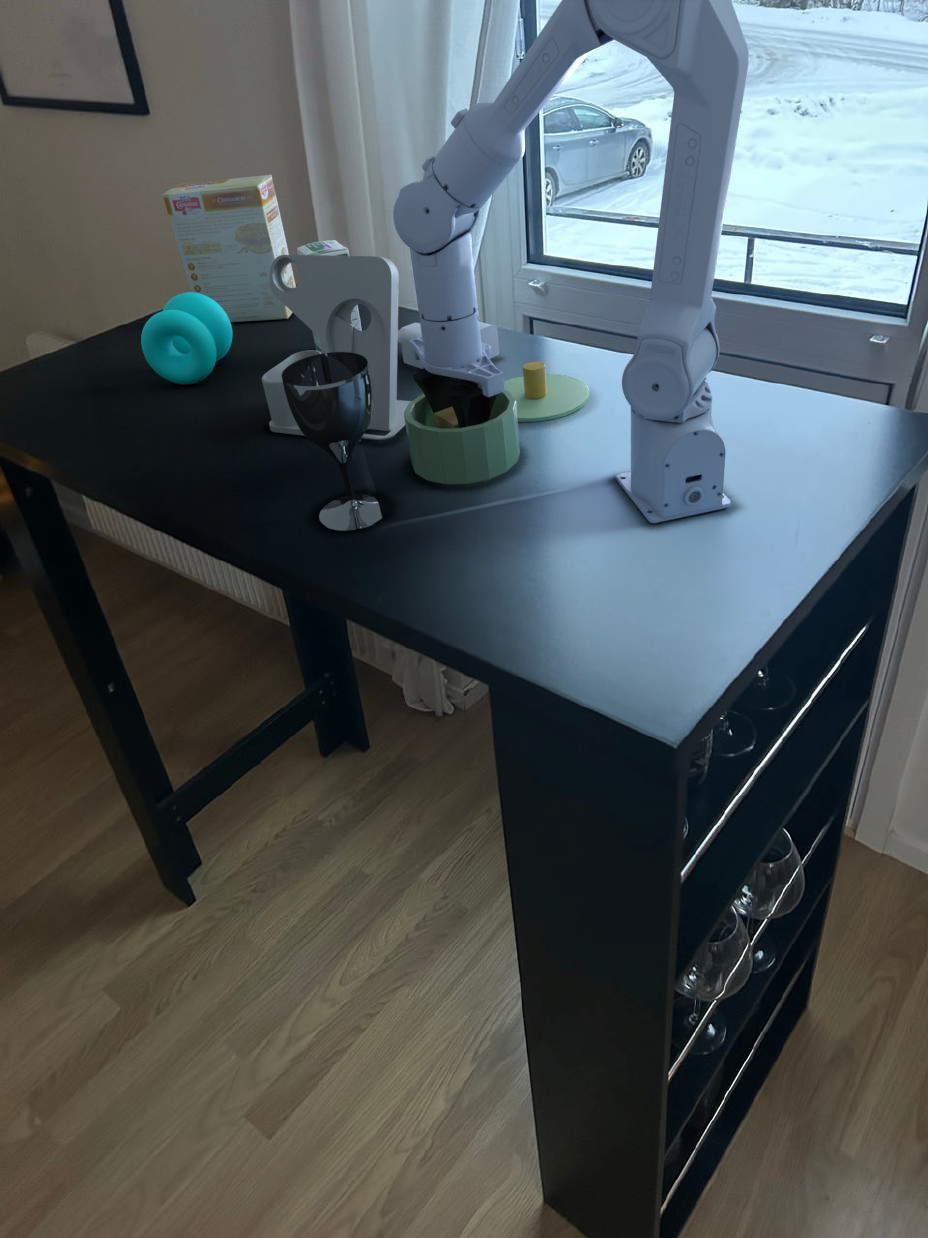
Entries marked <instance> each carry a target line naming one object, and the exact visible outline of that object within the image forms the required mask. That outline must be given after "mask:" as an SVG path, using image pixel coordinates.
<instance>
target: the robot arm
mask: <svg viewBox="0 0 928 1238" xmlns="http://www.w3.org/2000/svg"><path fill="white" fill-rule="evenodd" d="M615 41H616V42H618V43H619V44H621V45H623V46H625V47H626V48H629V49H631V50H633V51H634V52H636V53H638V54H639V55H641V56H644V57H646V59H647V60H648V61H649V62H650V63H651V65H653V66H654V68H655V69H656V70H657V71H658V73H659V74H661V76H662V77H663V78H664V79H665V80H666V81H667V83H668V84H669V85H670V87H671V88H672V89H673V99H672V109H671V118H670V126H669V134H668V142H667V151H666V158H665V159H666V161H665V169H664V176H663V185H662V193H661V201H660V209H659V210H660V211H659V219H658V229H657V236H656V243H655V244H656V245H655V251H654V252H655V253H654V259H653V260H654V262H653V268H652V269H653V270H652V277H651V287H650V296H649V301H648V305H647V308H646V312H645V313H644V316H643V319H642V322H641V324H640V328H639V330H638V334H637V340H636V347H635V351H634V353H633V355H632V357H631V358H630V360H629V361H628V362H627V363H626V365H625V367H624V369H623V372H622V375H621V388H622V393H623V396H624V398H625V400H626V402H627V404H628V405H629V406H630V471H627V472H621V473H618V474H616V475H615V480H616V481H617V482H618V484H619V485H620V486H621V488H622V489H623V490H624V492H625V493H626V494H627V495H628V497H629V498H630V499H631V501H632V502H633V503H634V504H635V506H636V507H637V508H638V510H639V511H640V512H641V513H642V514H643V516H644V517H645V518H646V520H647V521H648V522H649V523H651V524H658V523H663V522H667V521H672V520H676V519H677V520H678V519H681V518H685V517H690V516H695V515H700V514H705V513H708V512H709V513H710V512H714V511H718V510H723V509H727V508H730V507H731V506H732V500H731V499H730V498H729V497H728V496H727V495H726V494H725V493H724V483H725V482H724V481H725V468H726V467H725V466H726V446H725V442H724V440H723V438H722V437H721V435H720V434H719V432H718V431H717V430H716V428H715V425H714V423H713V417H712V405H713V404H712V403H713V394H712V392H711V391H712V390H711V388H710V386H709V383H708V381H707V376H708V375H709V374H710V373H711V372H712V371H713V370H714V368H715V366H717V363H718V361H719V358H720V353H721V345H720V340H719V337H718V333H717V332H716V326H715V320H716V319H715V318H716V311H717V305H716V304H715V301H714V299H713V297H712V294H713V288H714V287H713V286H714V283H715V282H714V281H715V276H716V268H717V264H718V257H719V249H720V245H721V238H722V232H723V226H724V218H725V214H726V213H725V212H726V206H727V201H728V200H727V199H728V194H729V188H730V183H731V182H730V180H731V175H732V170H733V163H734V158H735V152H736V151H735V150H736V145H737V139H738V132H739V127H740V118H741V113H742V108H743V100H744V95H745V88H746V82H747V77H748V70H749V62H750V61H749V60H750V59H749V56H750V54H749V47H748V44H747V41H746V38H745V35H744V33H743V30H742V27H741V24H740V21H739V19H738V16H737V13H736V10H735V7H734V4H733V2H732V0H561V1H560V2H559V3H558V5H557V7H556V8H555V10H554V11H553V13H552V14H551V16H550V17H549V18H548V20H547V22H546V23H545V25H544V26H543V28H542V29H541V31H540V33H538V35H537V37H536V38H535V39H534V41H533V42H532V44H531V45H530V47H529V49H528V50H527V52H526V53H525V55H524V56H523V57H522V59H521V60H520V62H519V63H518V65H517V67H516V68H515V70H514V71H513V73H512V74H511V76H510V77H509V78H508V80H507V82H506V83H505V84H504V85H503V87H502V89H501V90H500V93H499V94H498V95H497V96H496V98H495V99H494V101H493V102H476V103H474V104H472V105H471V106H470V108H469V109H468V108H463V109H460V110H458V111H457V113H455V115H454V116H453V118H452V119H451V120H450V125H451V126H452V127H453V128H454V129H453V131H452V133H451V134H450V135H449V136H448V138H447V140H446V141H445V142H444V144H443V145H442V147H440V149H439V150H438V152H437V153H436V155H435V156H434V155H431V156H429V157H428V158H427V157H426V160H425V161H424V162H423V164H422V165H421V169H422V170H423V179H422V180H420V181H414V182H411V183H408V184H406V185H405V186H403V187H402V188H401V189H400V190H399V192H398V197H397V198H396V200H395V203H394V206H393V212H392V215H393V216H392V217H393V224H394V228H395V230H396V233H397V234H398V237H399V238H400V240H401V241H402V242H403V243H404V244H405V245H406V246H407V247H408V248H409V251H410V252H409V253H410V260H411V261H410V262H411V265H412V266H411V267H412V274H413V280H414V288H415V296H416V302H417V311H418V318H419V323H420V326H421V333H422V337H419V338H416V339H413V340H410V341H409V347H410V354H411V358H412V359H414V360H421V362H422V364H423V366H424V367H423V368H424V369H420V370H417V371H415V372H414V373H413V374H412V378H413V381H414V382H415V383H416V384H417V386H418V387H419V389H420V390H421V392H422V394H424V395H425V396H426V398H427V400H428V402H429V404H430V406H431V409H432V411H433V413H436V412H439V411H441V410H444V409H447V408H449V407H453V410H454V412H455V414H456V417H457V420H458V424H459V428H464V427H469V426H474V425H479V424H482V423H485V422H487V421H489V418H490V414H491V410H492V407H493V404H494V402H495V400H496V397H497V395H498V394H499V393H501V392H504V391H505V384H504V381H505V375H504V371H502V370H500V369H499V368H497V367H496V366H495V365H494V363H493V361H492V360H491V359H489V357H488V356H487V355H488V354H490V353H491V347H490V346H489V345H487V344H485V343H481V335H480V325H479V322H480V316H479V307H478V298H477V297H478V296H477V288H476V287H477V286H476V277H475V266H474V256H473V241H472V240H473V239H472V235H473V234H472V233H473V230H474V228H475V226H476V225H477V223H478V221H479V219H480V214H481V209H482V208H483V207H484V205H485V204H486V203H487V202H488V200H489V199H490V198H491V197H492V195H494V193H495V192H496V191H497V189H498V188H499V187H500V186H501V184H502V183H503V182H504V180H505V179H506V178H507V177H508V176H509V174H510V173H511V172H512V171H513V169H514V168H515V167H516V166H517V164H518V163H519V162H520V161H521V159H522V158H523V157H524V155H525V152H526V137H525V136H526V135H525V134H526V133H525V131H526V128H527V127H528V126H529V125H530V123H531V122H533V120H534V119H535V118H536V117H537V115H538V114H539V113H540V112H541V111H542V109H544V107H545V106H546V105H547V104H548V102H549V101H550V100H551V99H552V98H553V97H554V96H555V94H556V93H557V92H558V91H559V90H560V88H561V87H562V86H563V85H564V84H565V82H567V80H568V79H569V78H570V77H571V76H572V74H573V73H574V72H575V71H576V70H577V68H578V67H579V66H580V65H581V64H582V63H583V62H584V60H585V59H586V58H587V57H588V55H589V54H591V53H592V52H593V51H595V50H597V49H599V48H602V47H604V46H606V45H608V44H611V43H613V42H615Z"/></svg>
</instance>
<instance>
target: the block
mask: <svg viewBox="0 0 928 1238" xmlns="http://www.w3.org/2000/svg"><path fill="white" fill-rule="evenodd" d="M434 417H435V424H436V428H441V429H449V428H459V424H458V420H457V417H456V414H455V412H454V410H453V407H449V408H447V409H444V410H441V411H439V412H436V413H434Z"/></svg>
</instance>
